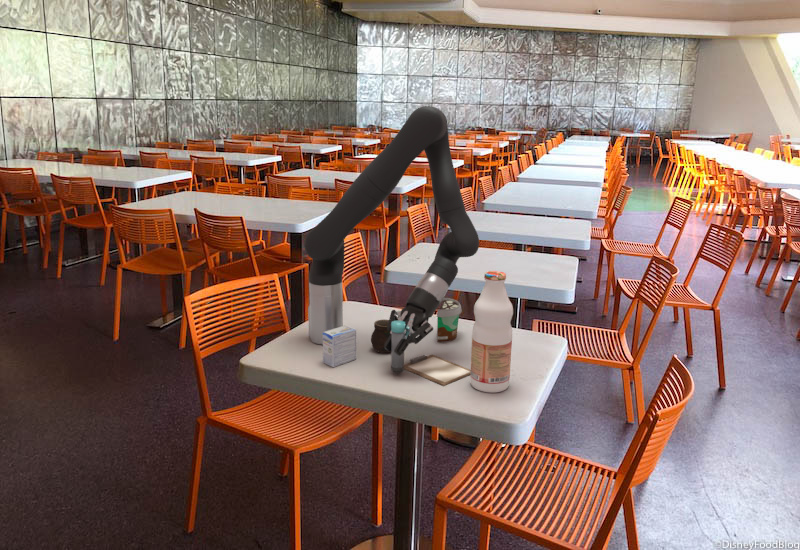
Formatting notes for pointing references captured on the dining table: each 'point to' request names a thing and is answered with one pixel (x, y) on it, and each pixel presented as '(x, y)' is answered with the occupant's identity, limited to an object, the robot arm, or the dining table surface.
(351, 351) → the medicine box
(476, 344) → the fruit juice
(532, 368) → the dining table surface
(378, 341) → the mate gourd
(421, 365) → the clipboard
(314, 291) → the robot arm
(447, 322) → the food container
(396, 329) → the ball
